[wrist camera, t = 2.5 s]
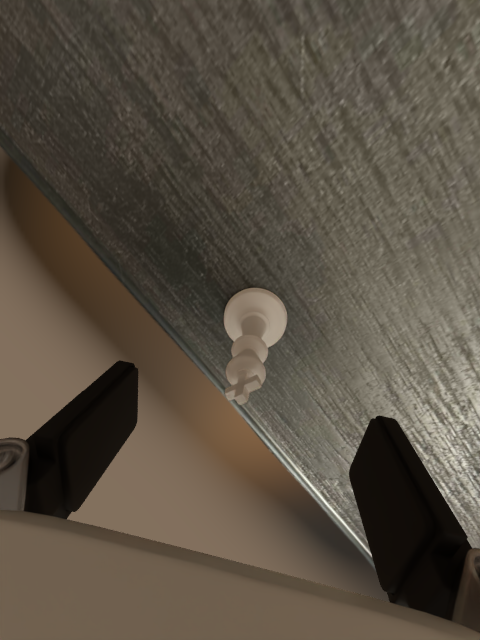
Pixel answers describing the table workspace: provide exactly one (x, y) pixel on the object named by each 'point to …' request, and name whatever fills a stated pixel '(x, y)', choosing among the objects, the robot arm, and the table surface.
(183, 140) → the table surface
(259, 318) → the chess piece
